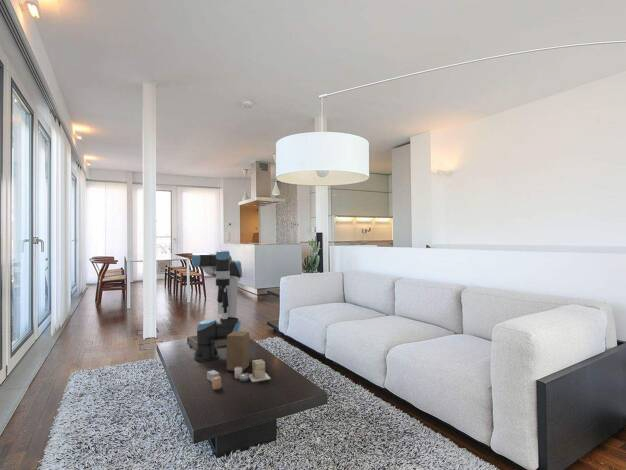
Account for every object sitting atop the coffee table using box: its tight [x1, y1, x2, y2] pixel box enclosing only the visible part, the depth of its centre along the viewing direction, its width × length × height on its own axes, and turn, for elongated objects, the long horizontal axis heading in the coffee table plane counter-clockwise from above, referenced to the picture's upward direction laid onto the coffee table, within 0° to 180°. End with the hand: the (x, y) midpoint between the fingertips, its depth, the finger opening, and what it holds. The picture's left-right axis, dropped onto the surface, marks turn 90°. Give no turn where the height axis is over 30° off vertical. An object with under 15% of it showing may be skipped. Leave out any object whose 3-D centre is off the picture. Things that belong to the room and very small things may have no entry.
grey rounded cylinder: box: [234, 367, 243, 380], centre depth 196 cm, size 4×4×5 cm
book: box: [186, 335, 227, 350], centre depth 260 cm, size 30×22×5 cm
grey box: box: [206, 369, 220, 383], centre depth 193 cm, size 6×4×4 cm, turn 43°
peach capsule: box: [211, 375, 223, 391], centre depth 182 cm, size 4×4×5 cm
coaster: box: [249, 371, 271, 383], centre depth 196 cm, size 10×10×1 cm
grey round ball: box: [238, 372, 250, 383], centre depth 192 cm, size 5×5×3 cm
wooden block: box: [226, 331, 250, 372], centre depth 210 cm, size 10×10×20 cm
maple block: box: [251, 358, 266, 379], centre depth 196 cm, size 6×6×8 cm
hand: (222, 316), depth 202 cm, fingers open, 13 cm apart
